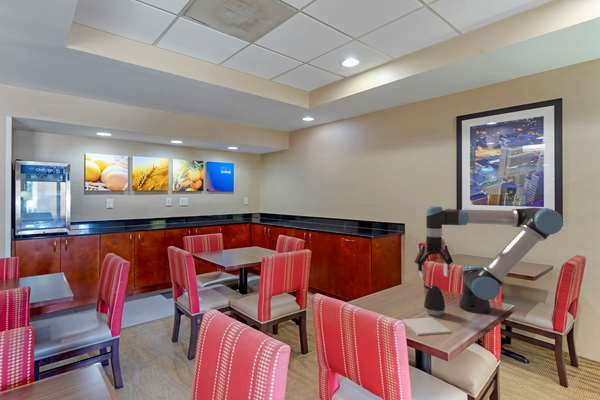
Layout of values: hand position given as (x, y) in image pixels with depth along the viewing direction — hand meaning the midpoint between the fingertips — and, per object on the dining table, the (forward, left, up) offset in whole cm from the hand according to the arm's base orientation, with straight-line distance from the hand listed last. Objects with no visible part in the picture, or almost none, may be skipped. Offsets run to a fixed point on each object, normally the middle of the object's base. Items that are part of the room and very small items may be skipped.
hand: (433, 276), depth 166 cm
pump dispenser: (0, 0, -20) cm, 20 cm away
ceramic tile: (+13, +14, -20) cm, 27 cm away
